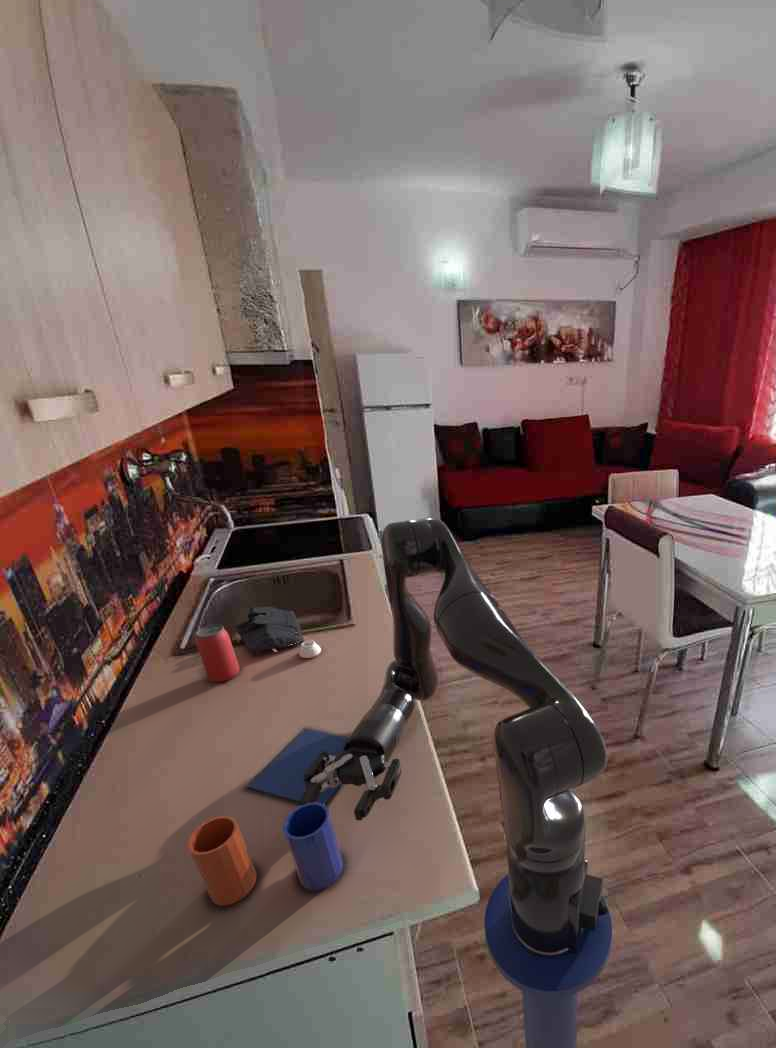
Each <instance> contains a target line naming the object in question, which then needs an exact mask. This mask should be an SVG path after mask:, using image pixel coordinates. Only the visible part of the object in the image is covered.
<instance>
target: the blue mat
mask: <svg viewBox="0 0 776 1048" xmlns="http://www.w3.org/2000/svg"><path fill="white" fill-rule="evenodd" d="M349 738H350V737H349ZM349 738H348V737H344V736H340V735H336V734H331V733H326V732H321V731H318V730H313V729H308V728H305V729H304V730H303V731H302V732H301V733H300V734H299V735H297V737H296V738H295V739H294V740H293V741H292V742H291V743H290V744H289V745H288V746H287V747H286V748H285V749H284V750H283V751H282V752H281V753H279V755H278V756H277V757H275V759H274V760H273V761H272V762H270V763H269V765H268V766H267V767H266V768H265V769H264V770H262V771H261V773H260V774H258V775H257V776H256V777H255V779H254V780H253V781H251V783H249V784H248V786H247V788H248V789H252V790H255V791H258V792H262V793H266V794H268V795H272V796H276V797H279V798H283V799H287V800H290V801H293V802H297V803H300V798H301V797H302V796H303V794H304V792H305V791H306V790H307V789H306V786H305V782H304V779H303V774H304V773H305V772H306V770H307V769H308V768H309V767H310V765H311V764H312V763H313V762H314V760H315V759H316V758H317V757H318V755H319V754H320V753H321V752H322V751H328V755H331V756H337V755H338V754H340V753H341V752H342V751H343V750H344V747H345V744H346V742H347V740H348V739H349ZM336 777H338V776H337V772H336V771H335V772H334V773H333V778H334V779H335V778H336ZM326 780H327V779H325V780H323V781H321V782H320V783H321V784H322V783H323V782H325V781H326ZM340 786H341V784H340V785H338V786H336V787H334V788H328V789H326V790H324V791H323V792H321V793H320V796H319V797H318V799H317V801H316V802H317V803H321V804H324V805H325V804H326V803H327V802H328V801H329V800H330V798H331V797H332V795H334V793H335V792H336V791H337V789H338V788H339V787H340Z"/></svg>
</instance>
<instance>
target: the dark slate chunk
mask: <svg viewBox="0 0 776 1048" xmlns="http://www.w3.org/2000/svg"><path fill="white" fill-rule="evenodd" d="M248 611H249V612H248V613H247V618H248V620H246V621H243V622H241V623H238V624H235V629H236V631H237V633H238V635H239V637H240V639H241V641H242V642H243V643H244V645H245V647H246V650H248V652H250V653H251V654H258V653H262V652H267V651H271V650H270V649H272V650H275V649H277V650H278V649H281V648H280V647H283V648H288V647H294V646H296V645H300V644H302V643H303V642H305V641H304V636H303V632H302V629H301V626H300V624H299V619H298V618H297V615H296V613H295V612H294V611H293V610H287V609H286V610H282V609H278V608H277V607H272V606H260V607H258V606H253V607H250V608H249V610H248ZM295 630H298V634H299V636H300V638H301V639H302V640H301V639H299V637H298V636H297V635H294V634H293V633H294V632H295ZM300 640H301V641H300ZM298 641H300V642H298ZM297 642H298V643H297ZM295 643H296V644H295ZM290 644H293V645H290ZM288 645H289V646H288ZM285 646H287V647H285ZM283 648H282V649H283ZM266 650H267V651H266ZM261 651H262V652H261ZM256 652H258V653H256Z"/></svg>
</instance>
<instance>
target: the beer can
mask: <svg viewBox="0 0 776 1048" xmlns="http://www.w3.org/2000/svg"><path fill="white" fill-rule="evenodd" d="M195 636H196V637H195V644H196V645H195V646H196V647H197V650H198V653H199V655H200V658H201V662H202V664H203V667H204V670H205V672H206V675H207V678H208V680H209V681H211V682H213V683H223V682H226V681H229V680H231V679H233V678H235V677H236V676H238V674H239V673H240V668H241V667H240V665H239V661H238V658H237V656H236V653H235V650H234V647H233V643H232V641H231V638H230V634H229V633H228V631H227V630H226V629H225V628H224V626H223V624H210V625H206V626H203V627H201V628H200V629H198V630H197V631H196V632H195Z"/></svg>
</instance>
